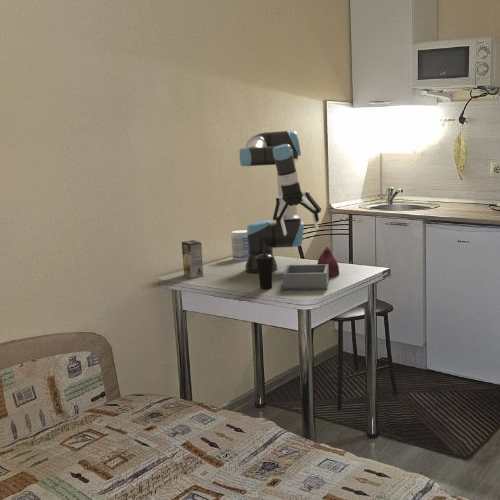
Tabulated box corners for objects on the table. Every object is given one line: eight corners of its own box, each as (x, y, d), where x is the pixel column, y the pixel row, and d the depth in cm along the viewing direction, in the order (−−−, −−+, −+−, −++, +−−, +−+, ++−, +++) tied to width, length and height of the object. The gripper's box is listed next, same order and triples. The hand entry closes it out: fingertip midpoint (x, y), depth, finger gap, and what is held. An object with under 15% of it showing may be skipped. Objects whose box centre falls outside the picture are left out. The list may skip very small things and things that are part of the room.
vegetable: (337, 284, 309) (340, 253, 302) (314, 281, 311) (316, 251, 304) (339, 273, 318) (342, 243, 312) (317, 270, 320) (319, 241, 314)
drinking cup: (256, 286, 299) (253, 240, 295) (273, 285, 300) (271, 239, 296) (257, 290, 291) (255, 243, 288) (276, 289, 292) (273, 242, 288)
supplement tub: (247, 261, 354) (245, 233, 351) (229, 261, 357) (228, 232, 355) (253, 257, 363) (252, 229, 360) (236, 257, 366) (235, 229, 364)
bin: (287, 280, 307) (287, 265, 306) (329, 279, 304) (328, 264, 303) (283, 290, 289) (282, 274, 288) (327, 289, 286) (326, 273, 285)
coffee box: (183, 275, 330) (180, 241, 327) (195, 273, 333) (193, 239, 330) (191, 278, 322) (189, 244, 319) (204, 276, 326) (201, 242, 323)
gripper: (258, 191, 282) (270, 239, 288) (318, 179, 274) (329, 230, 281) (262, 185, 289) (274, 233, 295) (320, 175, 281) (331, 224, 287)
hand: (301, 232), depth 288 cm, fingers open, 13 cm apart
